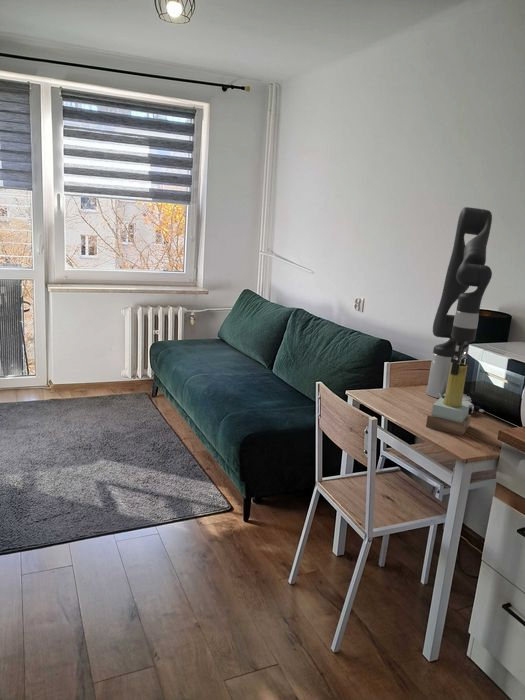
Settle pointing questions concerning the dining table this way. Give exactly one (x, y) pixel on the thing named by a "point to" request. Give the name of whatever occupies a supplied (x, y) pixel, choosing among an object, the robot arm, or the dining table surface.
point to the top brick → (450, 411)
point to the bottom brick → (448, 424)
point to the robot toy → (468, 400)
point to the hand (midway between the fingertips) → (457, 372)
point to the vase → (455, 387)
